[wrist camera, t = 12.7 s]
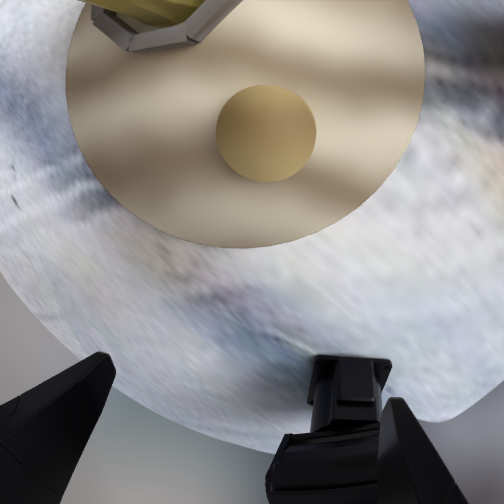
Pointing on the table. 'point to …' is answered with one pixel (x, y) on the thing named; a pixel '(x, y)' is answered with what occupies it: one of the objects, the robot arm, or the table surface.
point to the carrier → (246, 113)
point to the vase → (151, 9)
